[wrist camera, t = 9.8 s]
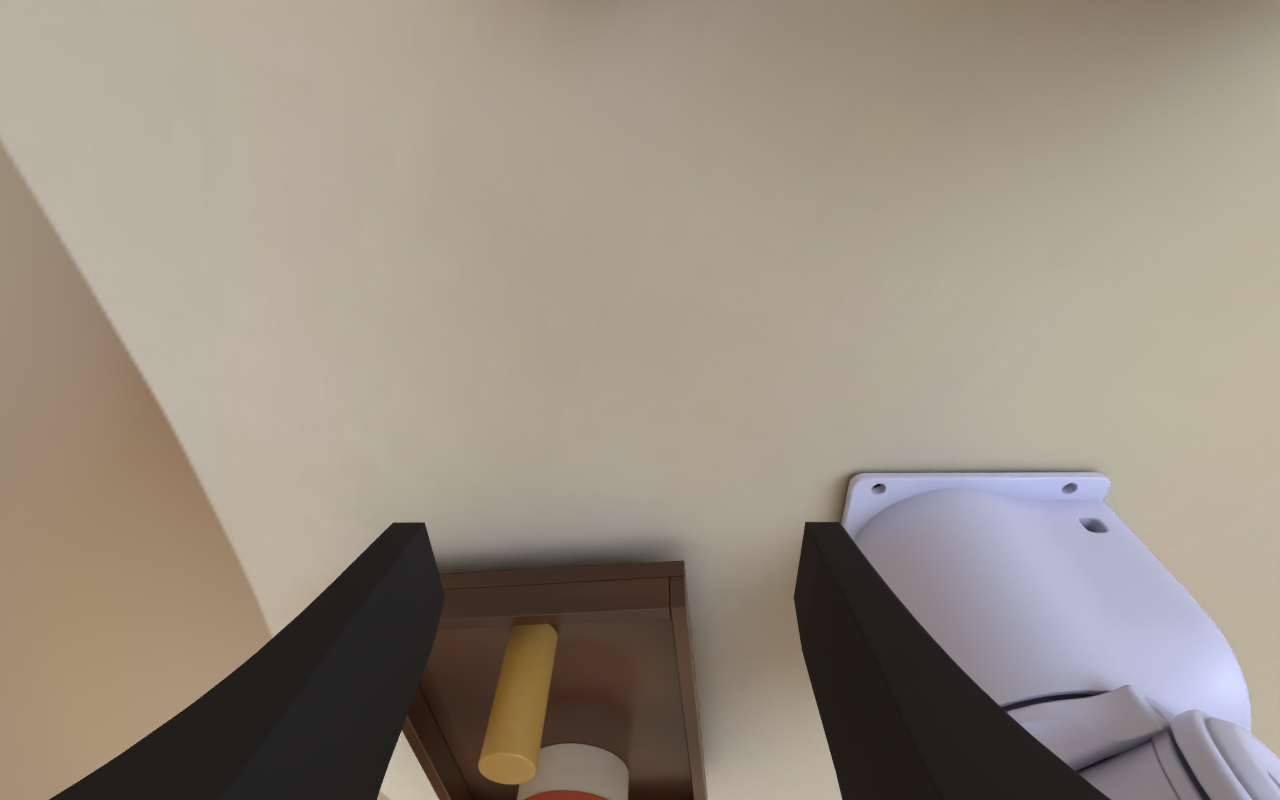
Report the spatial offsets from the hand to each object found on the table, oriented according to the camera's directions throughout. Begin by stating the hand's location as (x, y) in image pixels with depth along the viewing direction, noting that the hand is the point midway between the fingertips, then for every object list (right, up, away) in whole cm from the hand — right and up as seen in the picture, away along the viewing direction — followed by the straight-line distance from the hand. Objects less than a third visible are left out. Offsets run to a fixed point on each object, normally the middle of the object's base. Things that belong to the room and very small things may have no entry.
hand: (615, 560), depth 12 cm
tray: (-3, -11, +18) cm, 21 cm away
